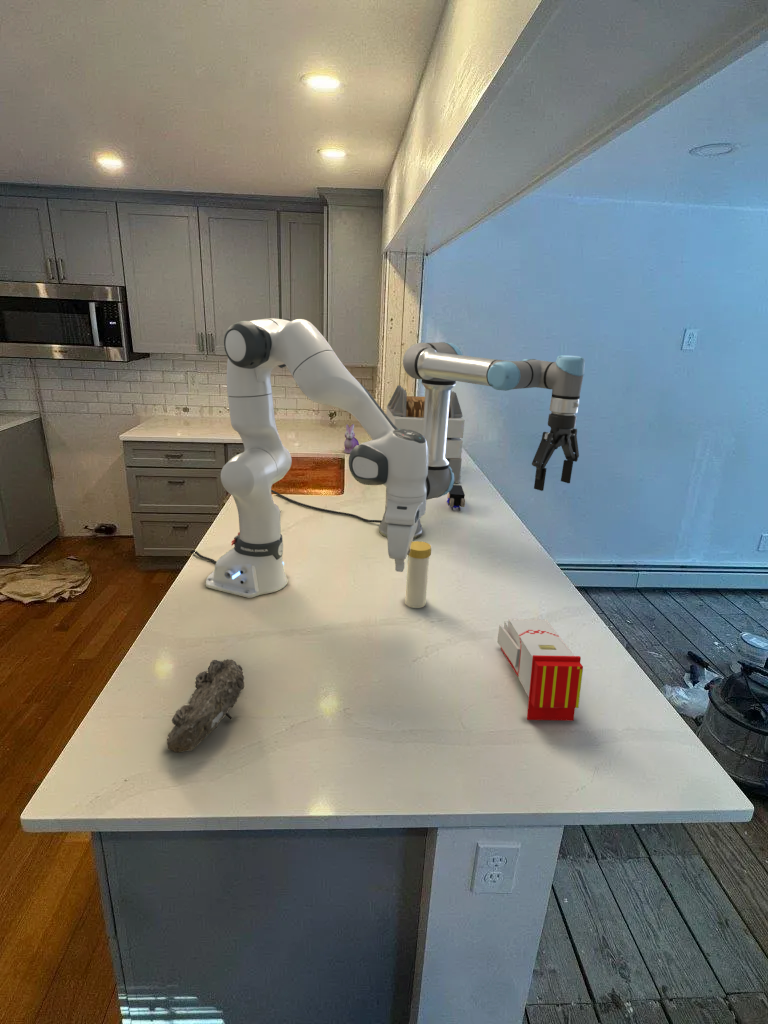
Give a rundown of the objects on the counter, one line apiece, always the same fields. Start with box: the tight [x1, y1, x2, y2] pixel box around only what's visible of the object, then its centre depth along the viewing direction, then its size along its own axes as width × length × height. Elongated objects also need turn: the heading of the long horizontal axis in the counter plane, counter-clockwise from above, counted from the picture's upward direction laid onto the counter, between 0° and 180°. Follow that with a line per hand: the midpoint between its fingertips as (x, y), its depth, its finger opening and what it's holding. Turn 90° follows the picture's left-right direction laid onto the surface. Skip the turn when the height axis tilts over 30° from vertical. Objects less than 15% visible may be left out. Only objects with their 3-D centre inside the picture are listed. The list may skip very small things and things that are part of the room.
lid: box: [407, 540, 432, 559], centre depth 148 cm, size 6×6×2 cm
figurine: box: [343, 423, 360, 454], centre depth 307 cm, size 9×10×15 cm
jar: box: [404, 555, 430, 609], centre depth 151 cm, size 6×6×16 cm
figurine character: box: [446, 484, 466, 511], centre depth 229 cm, size 7×8×15 cm
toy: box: [497, 618, 584, 722], centre depth 122 cm, size 12×13×30 cm
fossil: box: [166, 658, 245, 754], centre depth 106 cm, size 22×10×15 cm
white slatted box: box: [385, 384, 465, 484], centre depth 268 cm, size 34×33×41 cm
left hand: (403, 561), depth 129 cm, fingers open, 8 cm apart
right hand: (552, 485), depth 166 cm, fingers open, 13 cm apart
